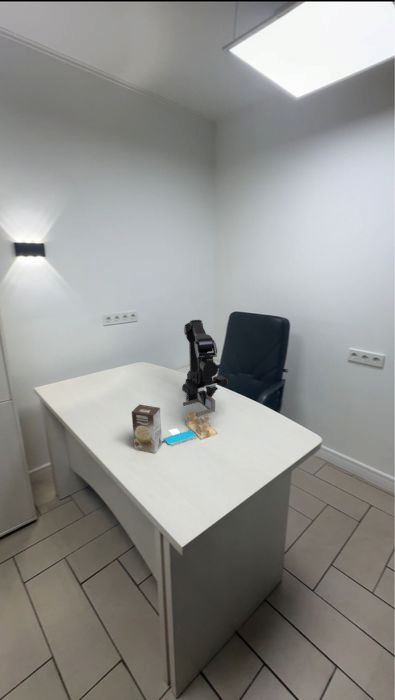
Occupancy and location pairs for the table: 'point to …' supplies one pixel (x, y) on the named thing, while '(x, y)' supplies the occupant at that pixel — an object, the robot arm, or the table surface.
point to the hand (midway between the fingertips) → (205, 403)
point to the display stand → (200, 426)
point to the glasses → (208, 404)
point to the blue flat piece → (179, 437)
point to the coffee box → (147, 428)
